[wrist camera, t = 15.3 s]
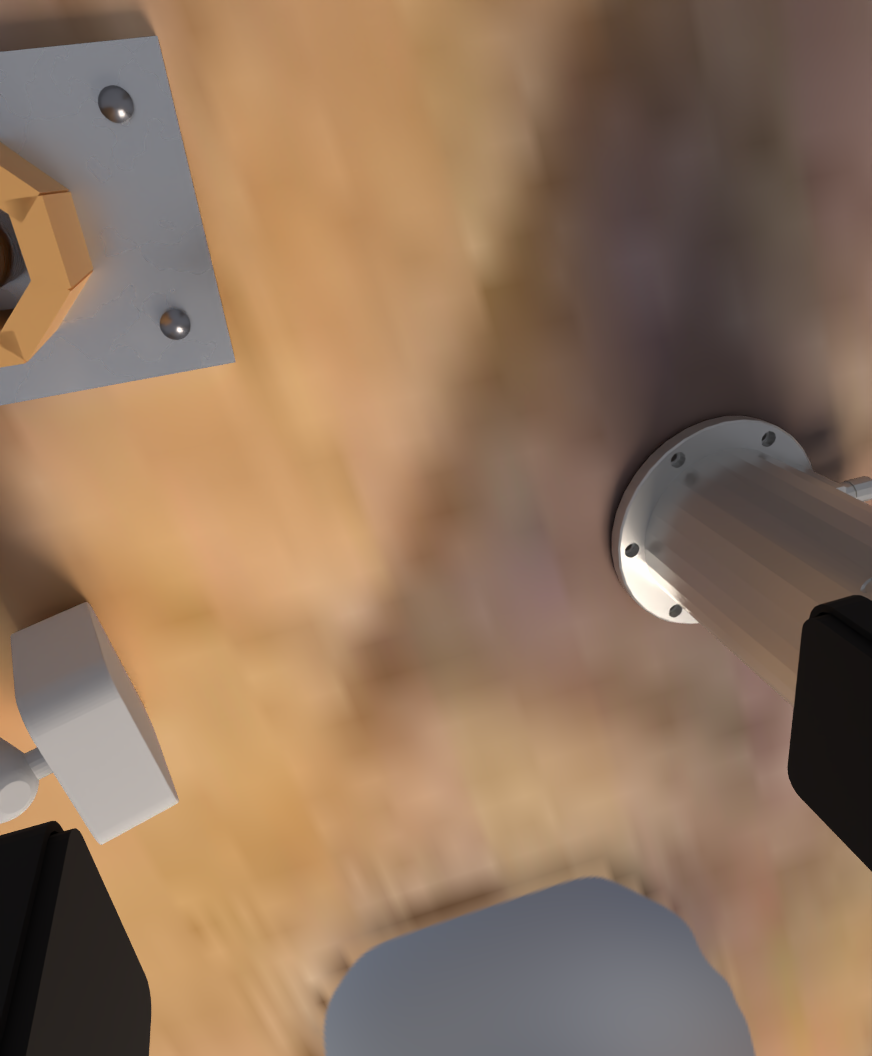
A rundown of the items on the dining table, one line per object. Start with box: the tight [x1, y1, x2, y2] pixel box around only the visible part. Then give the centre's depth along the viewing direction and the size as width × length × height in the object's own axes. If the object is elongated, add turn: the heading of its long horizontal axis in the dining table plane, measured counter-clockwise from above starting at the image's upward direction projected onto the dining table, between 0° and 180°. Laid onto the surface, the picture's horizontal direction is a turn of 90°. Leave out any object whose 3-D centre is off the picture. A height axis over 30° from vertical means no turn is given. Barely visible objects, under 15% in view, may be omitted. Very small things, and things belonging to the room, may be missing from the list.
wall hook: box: [0, 602, 179, 845], centre depth 34 cm, size 8×10×10 cm
